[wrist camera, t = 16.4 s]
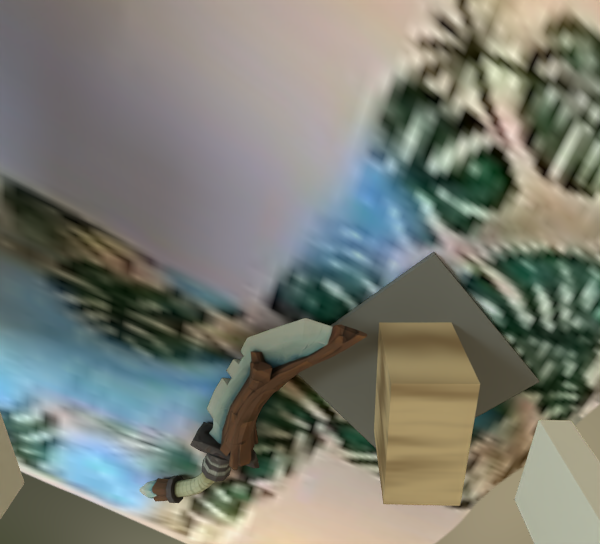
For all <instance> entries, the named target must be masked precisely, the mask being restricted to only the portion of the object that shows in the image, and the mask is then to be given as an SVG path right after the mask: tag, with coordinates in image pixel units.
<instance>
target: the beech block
mask: <svg viewBox="0 0 600 544" xmlns="http://www.w3.org/2000/svg"><path fill="white" fill-rule="evenodd" d="M479 389H480V382H479V380H478V378H477V376H476V374H475V372H474V370H473V367H472V365H471V363H470V361H469V359H468V357H467V355H466V353H465V350H464V348H463V346H462V344H461V342H460V340H459V338H458V335H457V333H456V331H455V329H454V327H453V325H452V323H451V322H437V323H379V336H378V357H377V377H376V398H375V419H374V435H375V443H376V450H377V458H378V465H379V473H380V481H381V488H382V496H383V504H402V505H454V506H460V503H461V497H462V491H463V485H464V479H465V473H466V467H467V461H468V455H469V449H470V443H471V437H472V431H473V425H474V419H475V413H476V407H477V401H478V395H479Z"/></svg>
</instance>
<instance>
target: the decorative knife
mask: <svg viewBox="0 0 600 544" xmlns="http://www.w3.org/2000/svg"><path fill="white" fill-rule="evenodd" d="M365 337H367V334H366V333H364V332H361V331H359V330H356V329H353V328H350V327H347V326H344V325H335V326H333V327H332V326H329V325H325V324H322V323H319V322H316V321H313V320H310V319H307V318H304V319H301V320H298V321H295V322H292V323H289V324H286V325H282V326H279V327H276V328H273V329H270V330H268V331H265V332H262V333H259V334H256V335H254V336H251V337H248V338H247V339H246V341H245V343H244V345H243V347H242V349H241V353H242V354H243V355H244V356H243V358H242V359H241V360H238V359H233V361H232V362H231V364H230V366H229V367H228V369H227V370H226V371H227V372H228V373H229V375H230V376H231V377H232V378H231V379H230V378H222V379H221V381H220V382H219V384H218V385H217V387H216V389H215V390H214V393H213V395H212V397H211V400H210V402H209V405H208V407H207V410H208V411H209V413H210V415H211V416H212V418H213V419H214V421H213V424H209V423H206V422H204V423H203V424H202V425H201V427H200V428H199V429H198V431H197V433H196V435H195V437H194V439H193V441H192V443H191V446H193V447H195V448H196V449H198V450H200V451H202V452H205V453H207V455H206V457H205V458H204V460H203V464H202V473H201V474H200V475H199V476H197V477H196V478H192V479H188V480H183V479H182V477H180V476H173V477H171V478H170V479H160V478H158V479H157V480H156V481H150V482H147V483H146V484H145V485H144V486H142V487H141V488H140V492H141V493H142V494H143V495H145V496H147V497H148V498H154V500H155V501H167V500H168V501H169V502H170V503H179V502H180V501H181V500H182V499H183V497H185V496H191V495H195V494H199V493H201V492H202V491H204V490H205V489H207V488H208V487H209V486H210V485H212V484H213V483H214V482H217V481H223V480H224V479H225V478H226V477H227V476H229V474H230V471H231V468H232V469H234V470H237V469H238V466H244V465H247V466H249V467H252V468H259V463H258V459H257V456H256V453H255V451H254V450H253V447H254V445H255V444H257V443H258V437H257V430H256V421H257V417H258V415H259V413H260V411H261V409H262V407H263V405H264V404H265V403H266V402H267V400H268V399H269V398H270V397H271V396H272V394H273V393H274V392H276V391H278V390H279V389H280V388H281V387H282V386H283V385H284V384H285V383H286V382H288V381H289V380H290V379H292V378H293V377H294V376H296V375H297V374H298V373H300V372H301V371H303V370H305V369H307V368H309V367H311V366H313V365H315V364H317V363H320V362H322V361H324V360H326V359H329V358H331V357H333V356H335V355H337V354H339V353H341V352H342V351H344V350H346V349H348V348H350V347H351V346H353V345H354V344H356V343H357V342H359V341H361V340H362V339H364V338H365Z"/></svg>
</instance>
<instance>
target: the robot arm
mask: <svg viewBox="0 0 600 544" xmlns="http://www.w3.org/2000/svg"><path fill="white" fill-rule="evenodd" d="M23 484H24V480H23V477H22V474H21V471H20V468H19V466H18V463H17V460H16V457H15V454H14V451H13V448H12V445H11V442H10V439H9V436H8V433H7V430H6V427H5V425H4V422H3V419H2V416H1V413H0V519H1V517H2V516H3V514H4V513H5V511H6V510H7V508H8V507H9V505H10V504H11V502H12V501H13V499H14V498H15V496H16V495H17V493H18V492H19V490H20V489H21V487H22V486H23ZM515 501H516V504H517V506H518V508H519V511H520V513H521V515H522V518H523V519H524V522H525V524H526V526H527V529H528V531H529V533H530V535H531V538H532V540H533V542H534V544H600V462H599V460H598V459H597V457H596V456H595V455H594V453H593V451H592V450H591V449H590V447H589V446H588V444H587V443H586V441H585V440H584V439H583V437H582V436H581V434H580V433H579V431H578V430H577V428H576V427H575V425H574V424H573V422H572V421H565V420H539V421H538V424H537V428H536V431H535V434H534V437H533V441H532V444H531V447H530V450H529V454H528V457H527V460H526V464H525V467H524V471H523V473H522V477H521V480H520V483H519V486H518V490H517V493H516V496H515Z"/></svg>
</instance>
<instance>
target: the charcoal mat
mask: <svg viewBox="0 0 600 544" xmlns="http://www.w3.org/2000/svg"><path fill="white" fill-rule="evenodd" d="M437 322H451V323H452V325H453V327H454V329H455V331H456V333H457V335H458V338H459V340H460V342H461V344H462V346H463V348H464V350H465V353H466V355H467V357H468V359H469V361H470V363H471V365H472V367H473V370H474V372H475V374H476V376H477V378H478V380H479V382H480V389H479V395H478V401H477V407H476V413H475V418H476V417H477V416H479V415H481V414H483V413H485V412H486V411H488V410H490V409H492V408H493V407H495V406H497V405H499V404H501V403H502V402H504V401H506V400H508V399H510V398H511V397H513V396H515V395H517V394H519V393H520V392H522V391H524V390H526V389H527V388H529V387H531V386H533V385H535V384H536V383H538V382H539V380H538V379H537V377H536V376H535V375H534V374H533V372H532V371H531V370H530V369H529V367H528V366H527V365H526V364H525V363H524V361H523V360H522V359H521V358H520V356H519V355H518V354H517V353H516V352H515V350H514V349H513V348H512V347H511V346H510V344H509V343H508V342H507V341H506V339H505V338H504V337H503V336H502V335H501V333H500V332H499V331H498V330H497V328H496V327H495V326H494V325H493V324H492V322H491V321H490V320H489V319H488V317H487V316H486V315H485V314H484V313H483V311H482V310H481V309H480V308H479V306H478V305H477V304H476V303H475V302H474V300H473V299H472V298H471V297H470V296H469V294H468V293H467V292H466V291H465V289H464V288H463V287H462V286H461V285H460V283H459V282H458V281H457V280H456V278H455V277H454V276H453V275H452V274H451V272H450V271H449V270H448V269H447V267H446V266H445V265H444V264H443V263H442V261H441V260H440V259H439V258H438V257H437V255H436V254H435V253H434V252H433V253H432V254H430V255H429V256H427V257H426V258H425V259H423V260H422V261H420V262H419V263H417V264H416V265H415V266H413V267H412V268H410V269H409V270H408V271H406V272H405V273H403V274H402V275H401V276H399V277H398V278H396V279H395V280H394V281H392V282H391V283H389V284H388V285H387V286H385V287H384V288H382V289H381V290H380V291H378V292H377V293H375V294H374V295H373V296H371V297H370V298H368V299H367V300H365V301H364V302H363V303H361V304H360V305H358V306H357V307H356V308H354V309H353V310H351V311H350V312H349V313H347V314H346V315H344V316H343V317H342V318H340V319H339V320H337V321H336V322H335V323H333V324H332V325H330V326H332V327H333V326H335V325H344V326H347V327H350V328H353V329H356V330H359V331H361V332H364V333H366V334H367V337H365V338H364V339H362V340H361V341H359V342H357V343H356V344H354V345H353V346H351V347H350V348H348V349H346V350H344V351H342V352H341V353H339V354H337V355H335V356H333V357H331V358H329V359H326V360H324V361H322V362H320V363H317V364H315V365H313V366H311V367H309V368H307V369H305V370H303V371H301V372H300V373H298V375H299V376H300V377H301V378H302V379H303V380H304V381H305V382H306V383H307V384H309V385H310V386H311V387H312V388H313V389H314V390H315V391H316V392H317V393H318V394H319V395H320V396H321V397H322V398H323V399H324V400H325V401H326V402H328V403H329V404H330V405H331V406H332V407H333V408H334V409H335V410H336V411H337V412H338V413H339V414H340V415H341V416H342V417H343V418H344V419H345V420H347V421H348V422H349V423H350V424H351V425H352V426H353V427H354V428H355V429H356V430H357V431H358V432H359V433H360V434H361V435H362V436H363V437H365V438H366V439H367V440H368V441H369V442H370V443H371V444H372V445H373V446H374V447H375V448H376V443H375V435H374V419H375V398H376V377H377V357H378V336H379V323H437Z"/></svg>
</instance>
